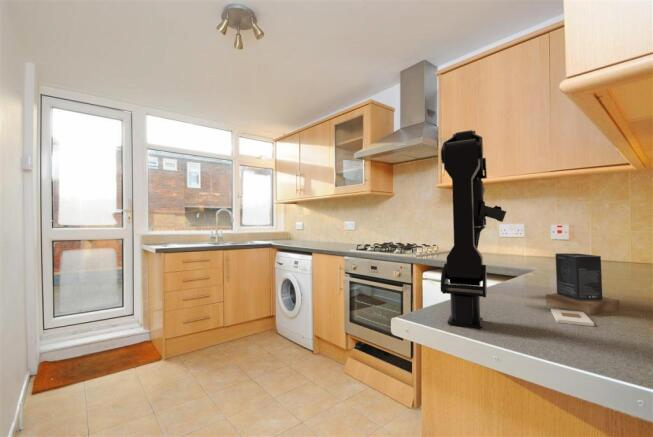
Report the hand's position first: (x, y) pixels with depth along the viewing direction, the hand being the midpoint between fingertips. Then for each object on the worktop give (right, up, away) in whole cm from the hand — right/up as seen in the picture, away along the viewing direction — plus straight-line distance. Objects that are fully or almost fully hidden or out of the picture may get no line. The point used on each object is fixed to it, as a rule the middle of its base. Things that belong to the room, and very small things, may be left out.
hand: (474, 250), depth 90 cm
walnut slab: (+19, -13, -15) cm, 27 cm away
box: (+19, -10, -14) cm, 26 cm away
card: (+10, -13, -23) cm, 28 cm away
